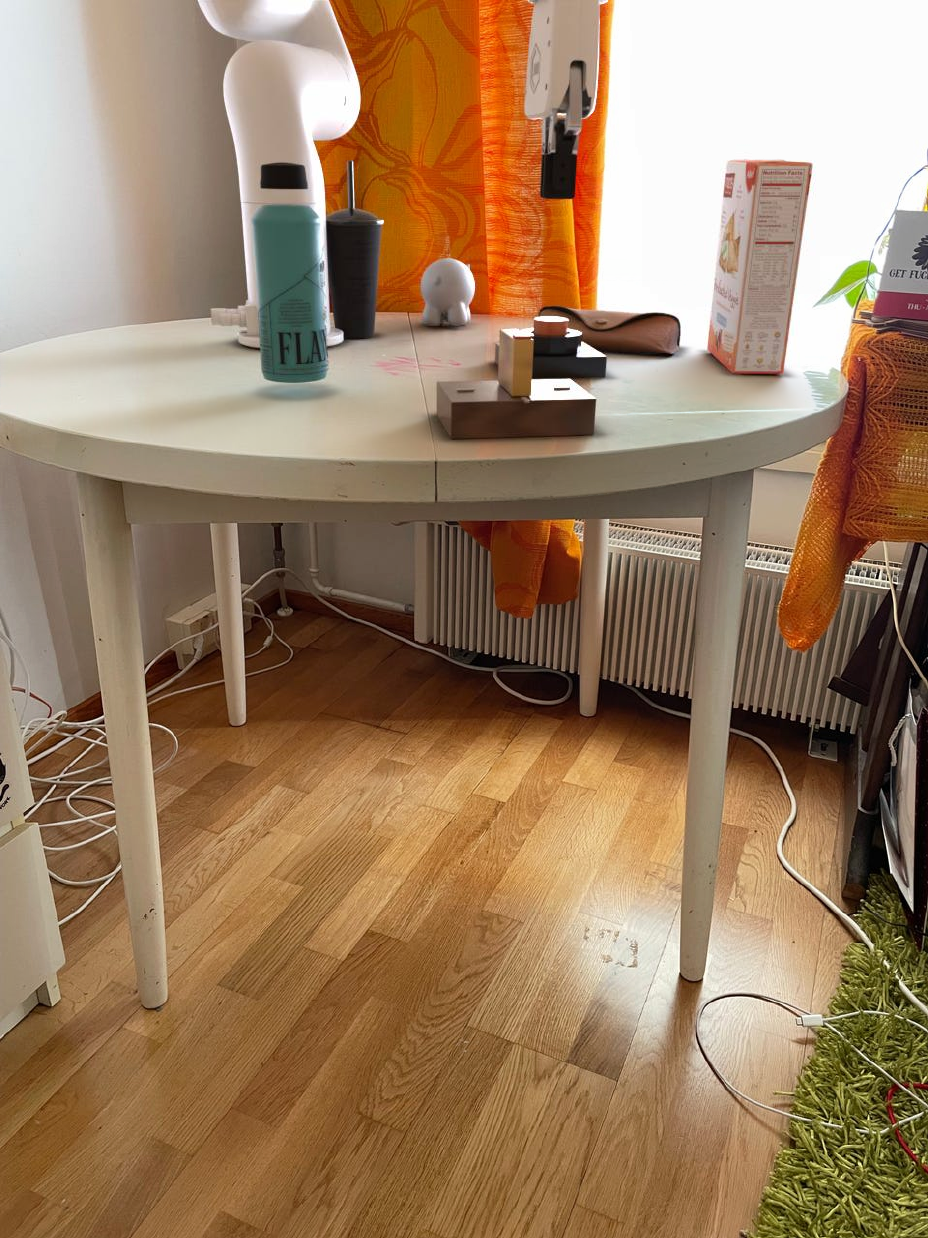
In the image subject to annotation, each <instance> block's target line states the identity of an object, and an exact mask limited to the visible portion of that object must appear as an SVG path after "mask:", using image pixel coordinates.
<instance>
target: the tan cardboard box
mask: <svg viewBox="0 0 928 1238" xmlns="http://www.w3.org/2000/svg"><path fill="white" fill-rule="evenodd" d="M498 339H499V341H498V343H499V366H498V372H497V380H498V383H499V384H500V385H501V386H502V387H503V388H504V389H505V390H506V391H508V392H509V393H510V394H511V395H512V396H531V388H532V380H533V379H532V365H533V342H534V340H533V339H531V336H530V335H529V334H524V333H523V332H521V330H519V329H518V328H500V329H499V338H498Z"/></svg>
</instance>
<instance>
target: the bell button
mask: <svg viewBox="0 0 928 1238" xmlns="http://www.w3.org/2000/svg"><path fill="white" fill-rule="evenodd" d="M533 328H534V330H533V334H538V335H549V336H554V335H567V332H568V319H566V318H562V317H538V316H537V317H534V319H533Z"/></svg>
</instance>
